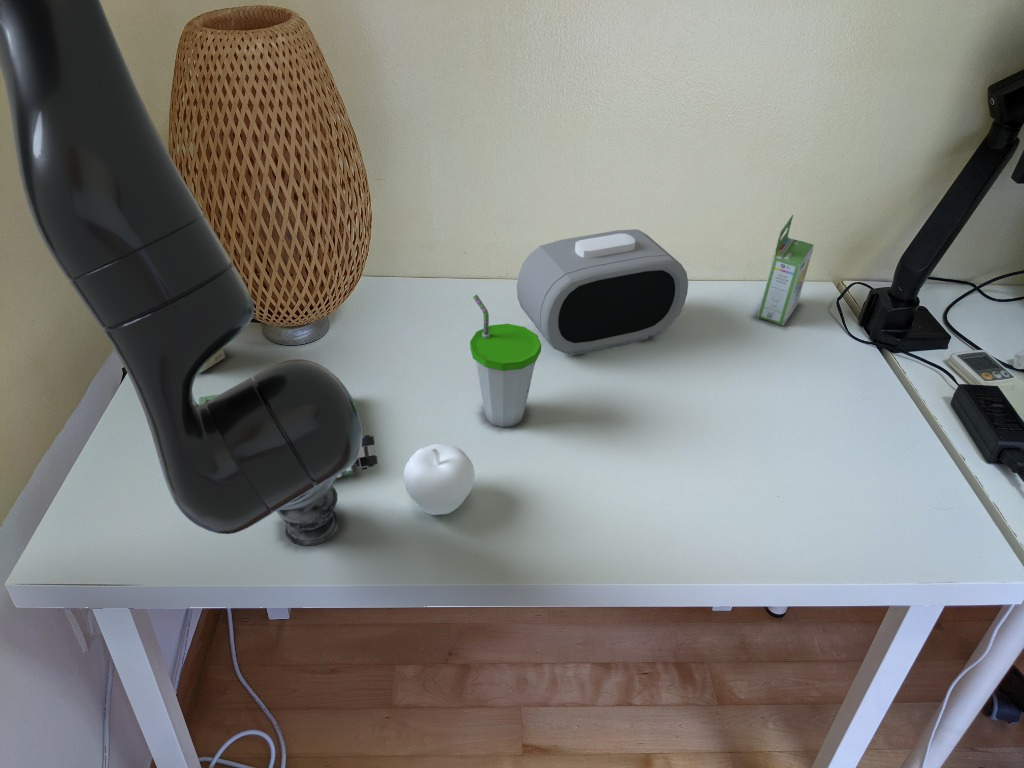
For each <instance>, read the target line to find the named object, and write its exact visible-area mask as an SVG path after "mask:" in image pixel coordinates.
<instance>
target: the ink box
mask: <svg viewBox="0 0 1024 768" xmlns="http://www.w3.org/2000/svg"><path fill="white" fill-rule="evenodd" d="M793 219H794V214H791V216H790V217H789V219H788V221H787V222H786V223H785V224H784V226H783V227H782V229H781V230H780V232H779V234H778V238H777V242H776V246H775V250H774V252H773V253H774V254H773V257H772V259H771V263H770V269H769V273H768V275H767V280H766V283H765V287H764V291H763V295H762V297H761V301H760V305H759V310H758V313H757V318H758V319H761V320H763V321H764V320H765V321H767V322H771V323H773V324H775V325H779V326H784V325H785V324H786V323H787V321H788V320H789V318H790V316H792V314H793V313H794V311H795V309H796V308H797V306H798V304H799V301H800V297H801V294H802V290H803V286H804V283H805V279H806V275H807V273H808V269H809V265H810V261H811V258H812V254H813V251H814V246H815V244H812V243H809V242H806V241H802V240H798V239H794V238H791V237H789V233H790V229H791V225H792V221H793Z"/></svg>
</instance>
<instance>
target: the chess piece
mask: <svg viewBox="0 0 1024 768" xmlns="http://www.w3.org/2000/svg"><path fill="white" fill-rule="evenodd" d="M337 504H338V492H337V490H336V488H335V487H334V486H333V485H332V487H331V488H330V490H329V491H328V492H327V493H326V494H325V495H324V496H323V497H322V498H321V499H319V500H318V501H316V502H314V503H312V504H310V505H308V506H305V507H301V508H296V509H290V510H277V511H276V513H277V515H278V517H280V518H281V519H282V520H283V521H284V522H285V523H284V527H283V532H284V534H285V537H286V538H287V539H288V541H290V542H291V543H293V544H295V545H298V546H305V547H309V546H316V545H319V544H323V543H324V542H326V541H327V540H329V539H330V538H331V537H333V536H334V534H335V533H336V532H337V530H338V527H339V517H338V514H337V513H336V512H335V508H336V506H337Z"/></svg>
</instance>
